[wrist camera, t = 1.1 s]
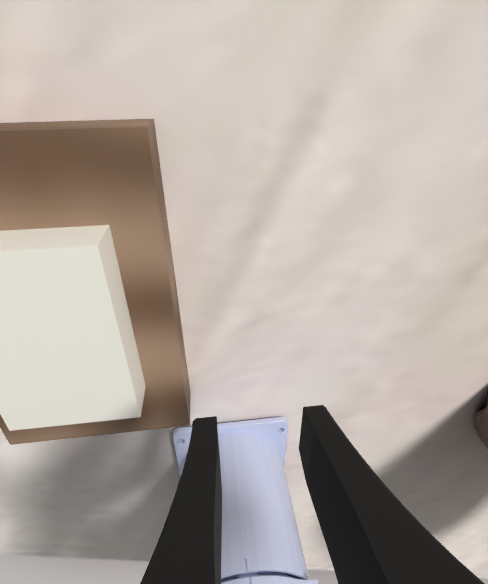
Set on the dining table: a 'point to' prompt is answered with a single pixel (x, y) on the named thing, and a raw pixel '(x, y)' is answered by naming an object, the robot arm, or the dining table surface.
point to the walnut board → (126, 238)
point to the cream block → (65, 330)
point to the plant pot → (482, 424)
